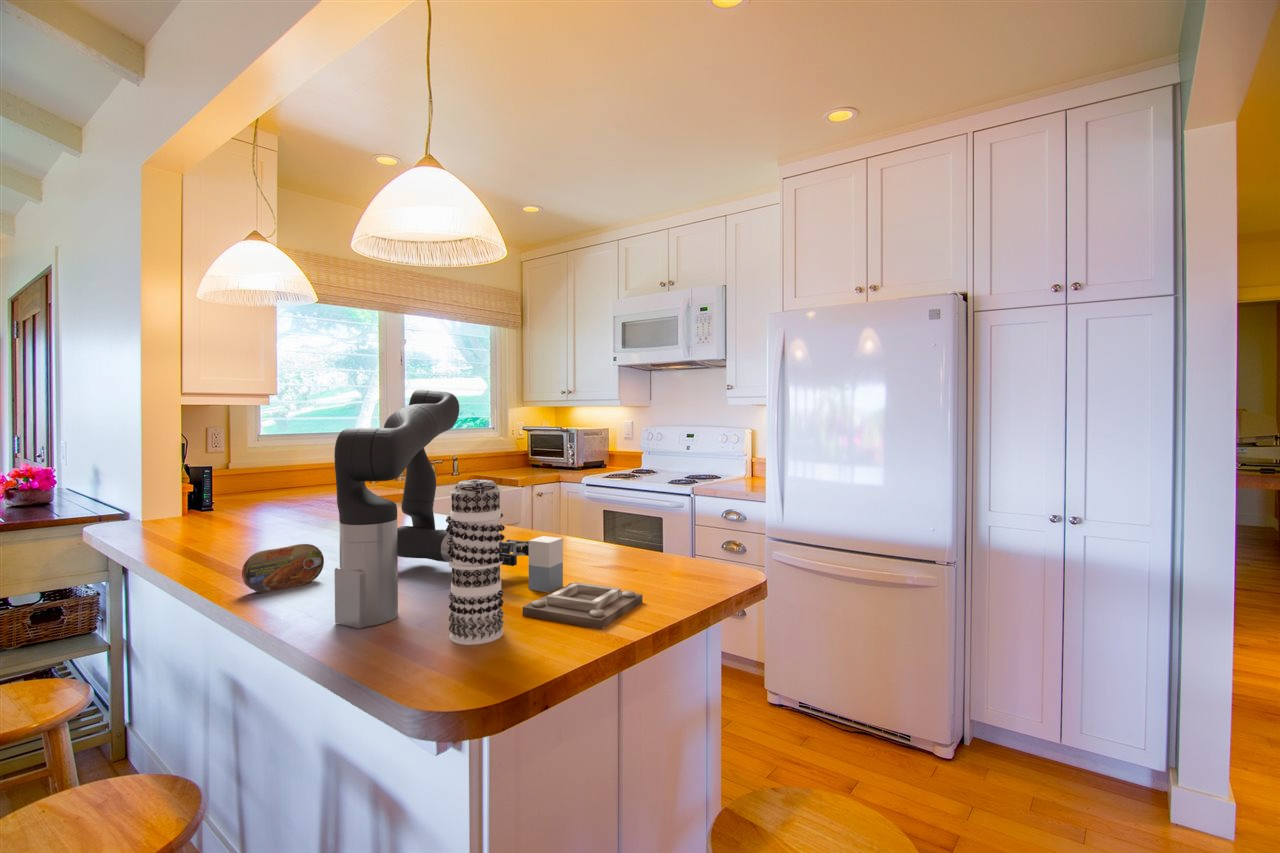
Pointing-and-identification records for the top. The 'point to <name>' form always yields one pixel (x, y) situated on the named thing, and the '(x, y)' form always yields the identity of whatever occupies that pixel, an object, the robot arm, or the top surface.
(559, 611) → the socket plate
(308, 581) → the tin
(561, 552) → the post
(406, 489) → the robot arm
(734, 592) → the top surface
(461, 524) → the decorative candle
